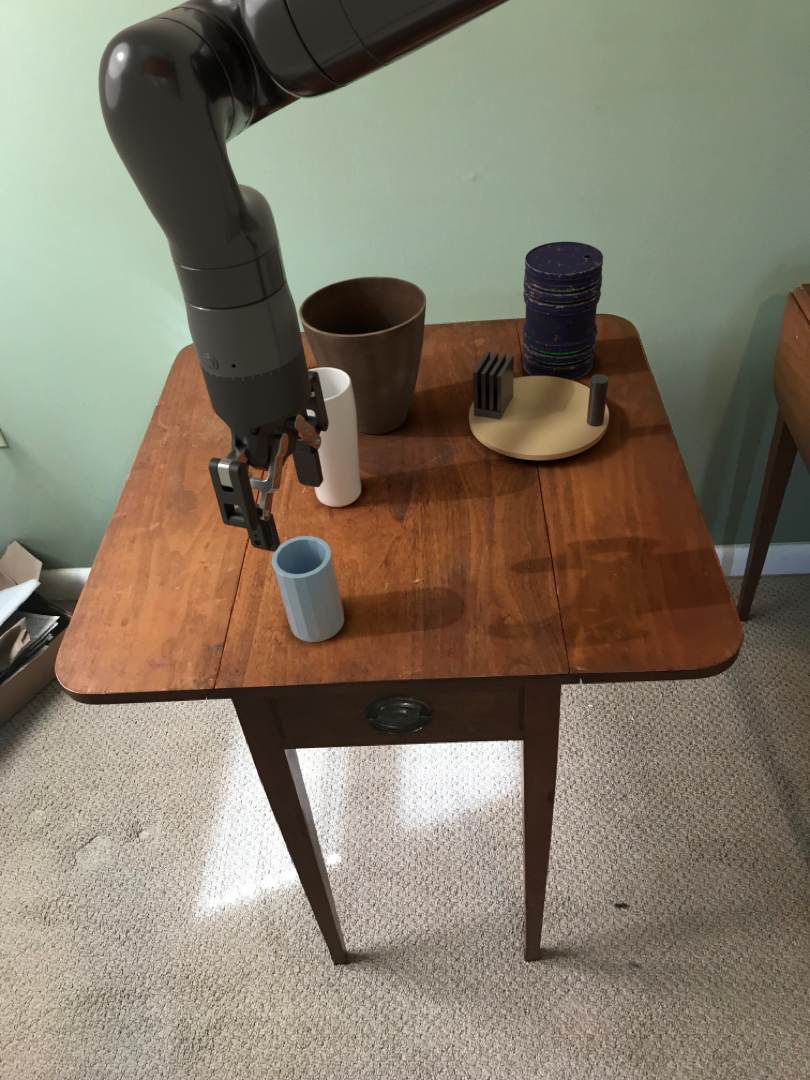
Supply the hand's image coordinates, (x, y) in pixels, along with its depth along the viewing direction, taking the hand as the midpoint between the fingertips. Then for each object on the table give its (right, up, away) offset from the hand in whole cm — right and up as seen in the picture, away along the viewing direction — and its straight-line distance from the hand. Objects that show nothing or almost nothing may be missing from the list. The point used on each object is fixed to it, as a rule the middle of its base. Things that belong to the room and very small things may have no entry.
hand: (290, 514), depth 66 cm
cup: (+1, -10, +10) cm, 14 cm away
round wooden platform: (+26, +13, +29) cm, 41 cm away
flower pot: (+6, +14, +34) cm, 37 cm away
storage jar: (+31, +22, +41) cm, 56 cm away
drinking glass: (+2, +3, +24) cm, 24 cm away
